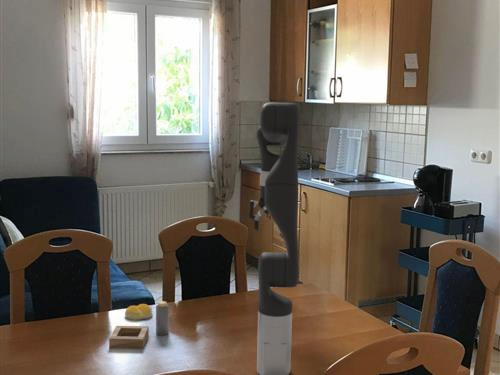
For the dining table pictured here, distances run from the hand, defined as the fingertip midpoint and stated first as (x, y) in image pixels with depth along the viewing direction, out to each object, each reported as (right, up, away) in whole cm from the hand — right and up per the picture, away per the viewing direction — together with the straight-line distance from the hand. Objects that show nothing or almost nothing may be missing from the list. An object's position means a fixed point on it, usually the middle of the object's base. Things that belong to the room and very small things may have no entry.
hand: (269, 230), depth 203 cm
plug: (-34, -31, -16) cm, 49 cm away
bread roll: (-44, -29, -1) cm, 53 cm away
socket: (-43, -32, -23) cm, 58 cm away
